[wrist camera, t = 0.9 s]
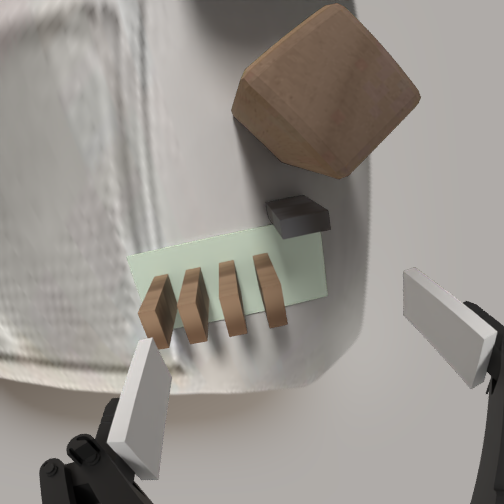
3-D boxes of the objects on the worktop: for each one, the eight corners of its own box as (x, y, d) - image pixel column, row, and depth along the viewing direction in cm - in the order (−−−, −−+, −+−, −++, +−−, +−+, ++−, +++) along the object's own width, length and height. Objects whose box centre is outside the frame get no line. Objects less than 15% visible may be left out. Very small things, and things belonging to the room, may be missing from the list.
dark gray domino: (268, 217, 41) (283, 239, 31) (265, 202, 40) (279, 220, 31) (305, 209, 41) (330, 229, 32) (303, 195, 40) (328, 210, 31)
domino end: (154, 276, 41) (137, 313, 32) (168, 273, 41) (154, 310, 32) (164, 308, 43) (152, 350, 34) (178, 306, 43) (169, 347, 34)
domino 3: (252, 255, 42) (262, 288, 32) (267, 252, 42) (281, 284, 32) (259, 289, 43) (269, 328, 34) (273, 286, 44) (287, 324, 34)
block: (227, 111, 36) (234, 76, 17) (283, 59, 34) (338, -6, 15) (284, 166, 39) (344, 187, 20) (337, 115, 37) (430, 98, 18)
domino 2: (218, 263, 42) (218, 297, 32) (233, 259, 42) (237, 293, 32) (227, 296, 43) (229, 336, 34) (241, 293, 43) (247, 333, 34)
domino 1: (185, 270, 42) (176, 305, 32) (200, 266, 42) (195, 302, 32) (195, 302, 43) (190, 344, 34) (209, 299, 43) (207, 341, 34)
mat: (127, 256, 41) (126, 257, 40) (317, 215, 41) (318, 215, 41) (153, 330, 45) (153, 332, 44) (326, 294, 45) (327, 296, 45)
